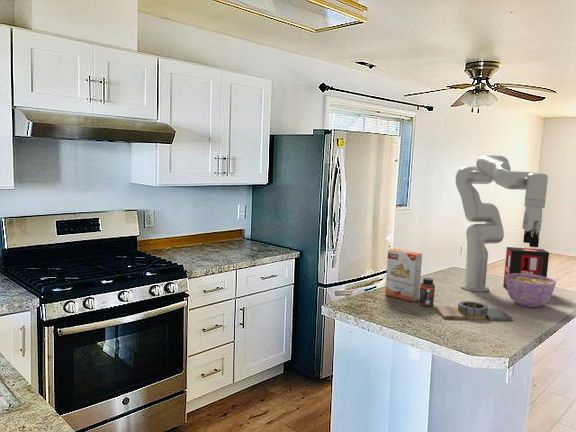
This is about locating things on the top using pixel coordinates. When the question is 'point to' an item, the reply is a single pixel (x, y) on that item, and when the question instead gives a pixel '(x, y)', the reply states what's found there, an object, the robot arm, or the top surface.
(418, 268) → the cracker box
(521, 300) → the bowl of food
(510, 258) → the cleaning product box
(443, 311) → the tan board
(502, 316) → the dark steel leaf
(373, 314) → the top surface
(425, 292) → the supplement bottle
